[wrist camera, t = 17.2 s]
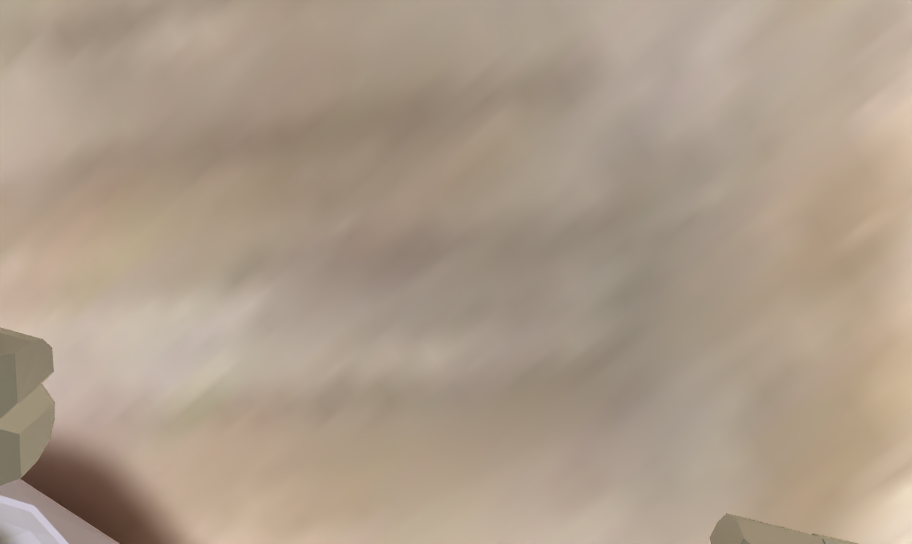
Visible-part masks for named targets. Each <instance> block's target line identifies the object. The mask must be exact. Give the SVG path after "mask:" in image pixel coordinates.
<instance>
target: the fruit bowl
mask: <svg viewBox="0 0 912 544" xmlns="http://www.w3.org/2000/svg"><path fill="white" fill-rule="evenodd" d="M0 544H119V543H118V542H116V541H115V540H113V539H112V538H110V537H109V536H107V535H106V534H104V533H103V532H101V531H100V530H98V529H96V528H95V527H93V526H92V525H90V524H89V523H87V522H86V521H84V520H83V519H81V518H80V517H78V516H76V515H75V514H73V513H72V512H70V511H69V510H67V509H66V508H64V507H63V506H61V505H60V504H58V503H57V502H55V501H53V500H52V499H50V498H49V497H47V496H46V495H44V494H43V493H41V492H40V491H38V490H37V489H35V488H34V487H32V486H30V485H29V484H27V483H26V482H24V481H23V480H21V479H17V480H14V481H12V482H9V483H6V484H4V485H1V486H0Z"/></svg>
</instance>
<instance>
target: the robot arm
mask: <svg viewBox="0 0 912 544" xmlns="http://www.w3.org/2000/svg"><path fill="white" fill-rule="evenodd" d="M53 372H54V368H53V354H52V347H51V346H50V345H49V344H47V343H46V342H45V341H44V340H43V339H40V338H36V337H33V336H29V335H25V334H22V333H18V332H15V331H11V330H7V329H4V328H0V486H1V485H4V484H6V483H9V482H12V481H14V480H17V479H20V478H22V477H23V476H24V475H25V474H26V472H27V471H28V470H29V469H30V468H31V467H32V466H33V465H34V464H35V463H36V462H37V461H38V459H39V458H40V456H41V454H42V452H43V450H44V449H45V447H46V445H47V443H48V441H49V439H50V437H51V433H52V428H53V424H54V420H55V402H54V401H53V399H52V398H51V396H50V395H49V393H48V392H47V390H46V389H45V387H44V386H43V385H42V383H43V382H44V381H45V380H46V379H47V378H48V377H49V376H50V375H51V374H52V373H53ZM710 542H711V544H858V543H854V542H849V541H845V540H841V539H836V538H832V537H827V536H823V535H818V534H808V533H804V532H800V531H796V530H792V529H788V528H784V527H780V526H776V525H772V524H768V523H763V522H759V521H755V520H751V519H747V518H743V517H739V516H735V515H731V514H727V513H726V514H725V515H724V516H723V517H722V518H721V519H720V520H719V521H718V523H717V525H716V527H715V529H714V531H713V532H712V534H711V536H710Z"/></svg>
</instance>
